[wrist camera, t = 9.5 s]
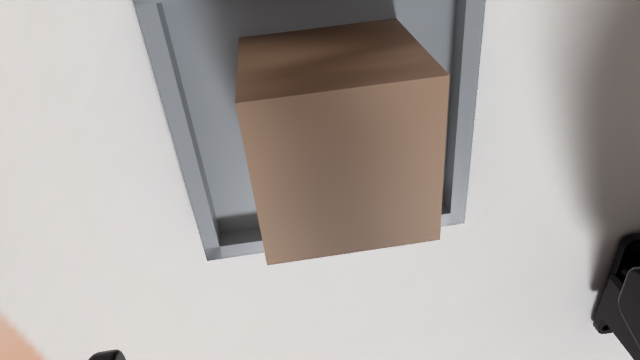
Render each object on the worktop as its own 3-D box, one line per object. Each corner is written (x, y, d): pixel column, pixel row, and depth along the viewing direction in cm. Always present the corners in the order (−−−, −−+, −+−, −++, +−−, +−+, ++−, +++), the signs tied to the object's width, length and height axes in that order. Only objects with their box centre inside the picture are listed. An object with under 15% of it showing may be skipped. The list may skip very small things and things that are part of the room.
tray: (472, -65, 15) (491, -59, 14) (452, 202, 21) (464, 223, 20) (137, -27, 15) (127, -17, 13) (209, 237, 20) (207, 260, 19)
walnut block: (396, 18, 16) (449, 75, 11) (396, 153, 18) (439, 239, 14) (239, 37, 15) (235, 103, 11) (263, 172, 18) (267, 265, 14)
